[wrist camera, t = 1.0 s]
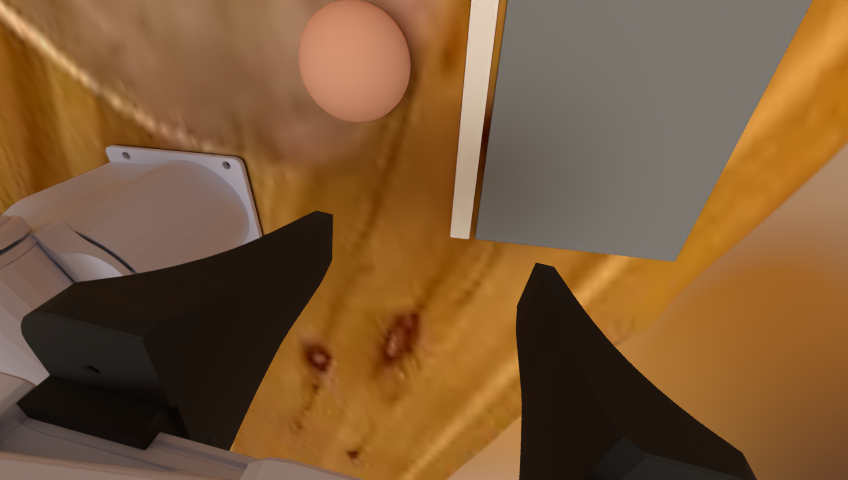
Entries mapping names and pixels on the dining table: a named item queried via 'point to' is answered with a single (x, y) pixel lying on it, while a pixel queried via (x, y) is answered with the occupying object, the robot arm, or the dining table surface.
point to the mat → (610, 116)
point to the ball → (354, 60)
